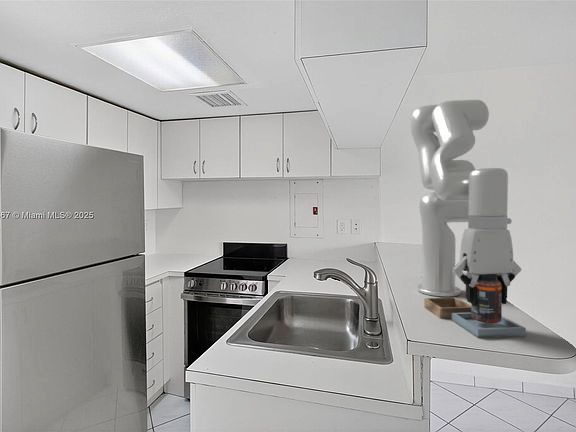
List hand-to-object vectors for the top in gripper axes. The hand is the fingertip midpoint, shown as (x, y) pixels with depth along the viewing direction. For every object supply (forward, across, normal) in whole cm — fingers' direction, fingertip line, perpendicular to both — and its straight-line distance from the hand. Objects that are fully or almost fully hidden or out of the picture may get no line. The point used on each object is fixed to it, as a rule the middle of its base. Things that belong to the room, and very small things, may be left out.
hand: (486, 301), depth 75 cm
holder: (+6, +3, -11) cm, 13 cm away
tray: (+6, 0, 0) cm, 6 cm away
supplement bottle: (+4, 0, 0) cm, 4 cm away
